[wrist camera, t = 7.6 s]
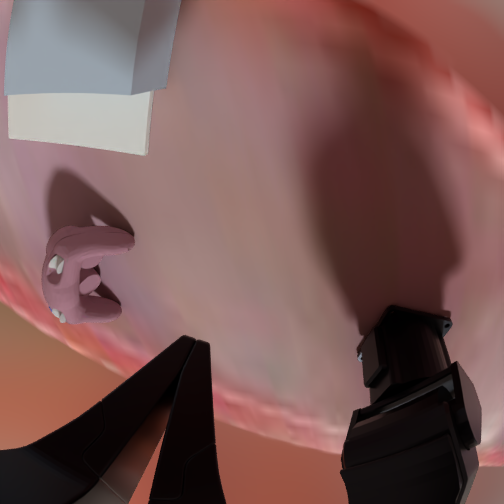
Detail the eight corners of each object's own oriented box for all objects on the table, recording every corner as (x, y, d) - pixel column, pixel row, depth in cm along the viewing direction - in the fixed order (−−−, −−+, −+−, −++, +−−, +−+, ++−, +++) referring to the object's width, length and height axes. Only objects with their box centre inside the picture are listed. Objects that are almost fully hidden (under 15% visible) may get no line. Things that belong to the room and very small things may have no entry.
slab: (155, -42, 8) (15, -8, 9) (130, 95, 12) (4, 95, 13) (188, -22, 12) (58, -5, 12) (167, 87, 16) (47, 84, 16)
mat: (189, -76, 10) (186, -79, 9) (148, 153, 19) (144, 155, 18) (31, -39, 10) (27, -39, 10) (12, 136, 19) (8, 138, 19)
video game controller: (110, 204, 23) (32, 225, 18) (142, 237, 22) (57, 268, 16) (99, 286, 29) (40, 312, 23) (125, 318, 27) (64, 350, 22)
